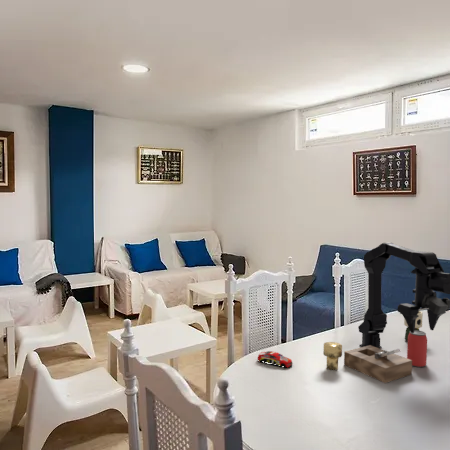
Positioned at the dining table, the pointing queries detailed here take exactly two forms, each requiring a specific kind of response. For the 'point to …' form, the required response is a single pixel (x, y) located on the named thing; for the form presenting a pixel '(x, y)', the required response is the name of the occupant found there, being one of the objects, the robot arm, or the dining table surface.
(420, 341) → the beer can
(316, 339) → the dining table surface
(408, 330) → the character mug
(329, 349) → the brass pin
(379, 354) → the latch bar
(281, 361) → the race car
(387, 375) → the brown rectangular block
